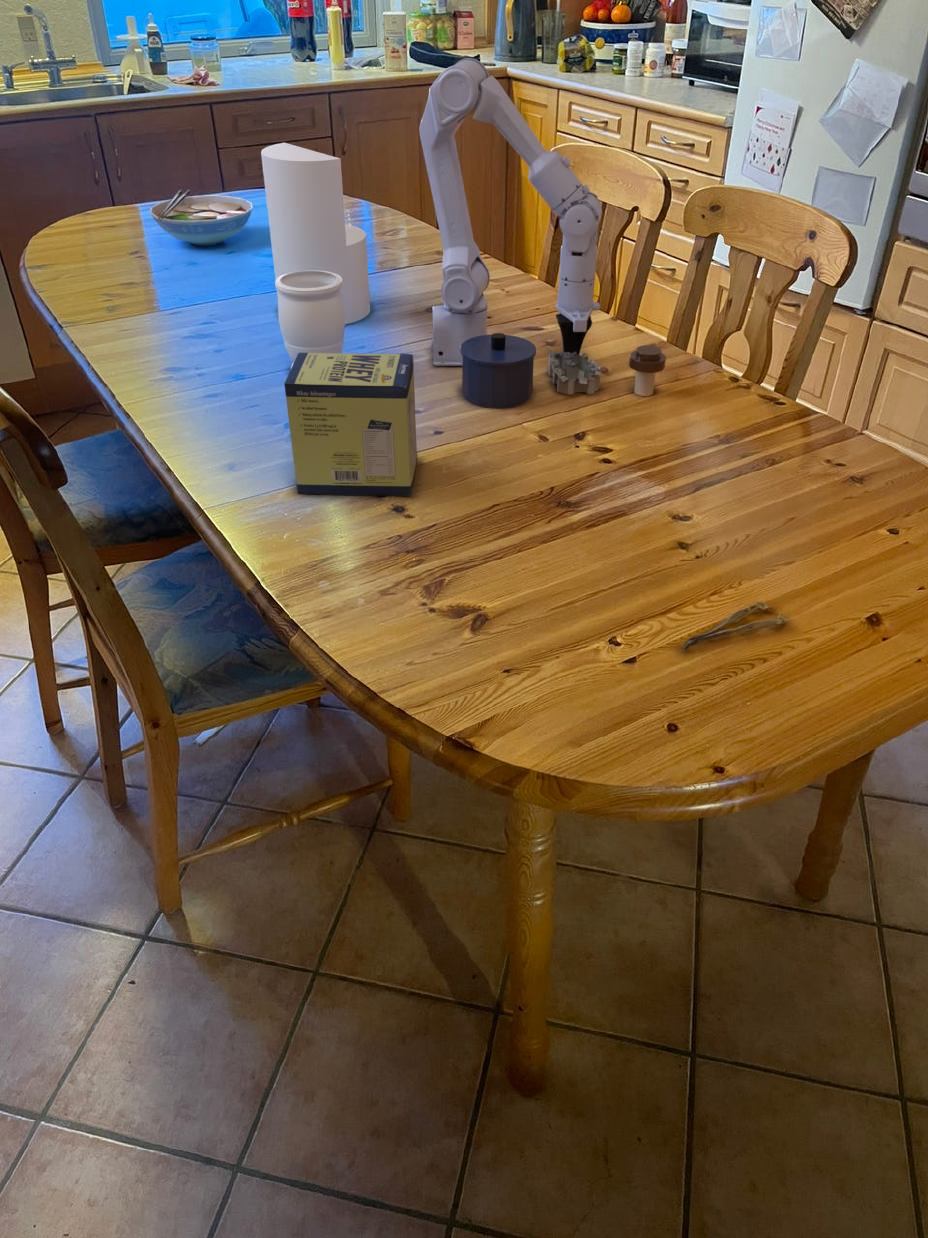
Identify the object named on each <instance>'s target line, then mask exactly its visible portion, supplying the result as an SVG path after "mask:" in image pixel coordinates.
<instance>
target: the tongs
mask: <svg viewBox="0 0 928 1238" xmlns="http://www.w3.org/2000/svg"><path fill="white" fill-rule="evenodd" d="M770 610H773V606H769V605H767V603H765V602H763V601H756V602H755V603H753V604H752V605H749V606H746V607H743V608H741V609H739V610H736V611H734V612H732V613H731V614H729V615H728V616H726V617H725V618H723V620H721V621H720V622H719V623H718V624H717V625H715V626H714V627H712V628H711V629H708V630H707V631H704V632H703V633H701V634H697V635H694V636H691V637H690V638H688V639H687V640H685V642H684V644H683V646H682V652H685V651H686V650H687V649H688V648H690V647H692V646H695V645H699V644H701V643H704V642H708V641H712V640H715V639H719V638H720V639H721V638H725V637H728V636H732V635H734V634H742V633H753V632H755V631H759V630H762V629H766V628H770V627H774V626H777V625H782V624H783V623H785V622H787V621H788V619H787V618H785V617H784V616H783V613H779V614H778V616H777V617H776V618H768V619H765V620H755V621H753V622H749V623H747V624H744V625H740V626H738V627H735V628H734V627H733V628H730V629H729V628H728V629H724V628H725V627H727V626H728V625H731V624H736V623H738V622H740V621H741V620H742V619H743V618H744V617H747V616H748V615H751V614H753V613H758V612H763V613H766V612H769V611H770ZM722 629H724V630H722Z"/></svg>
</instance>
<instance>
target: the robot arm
mask: <svg viewBox="0 0 928 1238" xmlns="http://www.w3.org/2000/svg"><path fill="white" fill-rule="evenodd" d="M472 110H473V111H474V113H473V115H472V117H471V119H472V120H474V121H478V122H483V123H488V124H491V125H493V126H494V127H495V128H496V129H497V131H498V132H499V133H500V134H501V135H502V136H503V137H504V139H505V140H506V141H507V142H508V144H509V145H510V146H511V147H512V148H513V150H514V151H515V152H516V153H517V154H518V155H519V156H520V158H521V159H522V160H523V161H524V163H525V164H526V165H527V167H528V181H529V183H530V184H531V186H533V188H534V189H535V190H536V192H537V193H538V194H539V196H540V197H541V198H542V199H543V201H544V202H545V203H546V205H547V206H548V207H549V209H550V210H551V211H552V212H553V214H555V215H557V216H558V217H559V218H560V219H559V227H560V230H561V233H562V245H561V246H560V257H559V273H558V285H557V286H558V287H557V300H556V303H555V310H556V311H557V312H558V313H556V315H555V319H556V322H557V324H558V327H559V329H560V334H561V343H562V350H563V351H562V352H570V353H574V352H576V353H577V355H580V353H581V350H582V345H583V343H584V340H585V337H587V333H589V330H591V327H592V325H593V320H592V316H591V315H592V313H593V312H594V311H600V309H601V305H600V303H599V302H598V301H594V296H595V295H594V294H595V284H596V283H595V281H596V271H597V260H598V245H597V244H598V241H599V235H598V232H599V231H598V230H599V226H600V222H601V219H602V215H603V214H602V213H603V210H602V203H601V202H600V199H599V196H598V195H597V194H596V193H594V192H593V191H591V189H590V187H589V186H588V184H585V185H584V184H582V182H581V181H580V179H579V178H578V177H577V175H576V174H575V172H574V171H573V170H572V168H571V167H570V165H571V163H572V162H571V160H570V159H569V157H568V155H565V156H563V157H562V155H561V154H560V153H559V152H558V151H553V150H552V151H551V150H547V149H545V148H544V146H543V144H542V143H541V142H540V140H539V138H538V137H537V136H536V134H535V133H534V132H533V130H532V128H531V127H530V125H529V124H528V122H527V121H526V120H525V118H524V116H522V114H521V112H520V111H519V109H518V108H517V107H516V105H515V104H514V102H513V101H512V99H511V98H510V96H509V95H508V94H507V92H506V91H505V90H504V88H503V87H502V85H501V84H500V82H499V80H497V79H496V78H495V77H494V75H490V74H489V71H488V69H487V67H486V66H485V65H484V64H483V63H482V62H481V61H479V59H476V58H472V57H465V58H462V59H460V60H458V61H457V62H455V64H453V65H451V66H448V67H447V68H444V70H442V72H440V74H439V75H438V77H437V78H436V79H435V80H434V82H433V83H432V84H431V86H430V87H429V90H428V97H427V101H426V104H425V108H424V111H423V115H422V118H421V121H420V124H419V130H418V131H419V137H420V138H419V139H420V143H421V147H422V152H423V157H424V161H425V167H426V172H427V177H428V183H429V186H430V191H431V192H430V193H431V197H432V201H433V206H434V211H435V216H436V220H437V226H438V230H439V234H440V235H439V236H440V239H441V240H440V241H441V245H442V249H443V252H442V262H441V263H442V264H441V270H442V276H443V280H442V283H441V289H440V291H441V294H440V295H441V298H442V301H443V304H440V305H434V306H432V339H431V340H430V348H431V349H430V350H431V351H432V352H433V354H432V355H433V356H432V357H433V360H432V361H433V366H434V367H462V355H461V353H460V346H461V344H462V343H463V342H465V341H466V340H468V339H470V338H473V337H477V336H482V335H488V301H487V299H486V297H485V294H484V292H485V291H486V289H487V288H488V286H489V285H490V281H491V275H490V270H489V268H488V266H487V264H486V263H485V262H484V260H483V259H482V256H481V251H480V248H479V246H478V244H477V243H476V241H475V239H474V233H473V228H472V222H471V217H470V213H469V207H468V202H467V196H466V191H465V186H464V180H463V175H462V170H461V164H460V159H459V154H458V149H457V142H456V138H455V136H456V134H457V131H458V130H459V129H460V128H461V126H462V124H463V122H464V120H465V119H466V117H467V115H468V114H469V113H470V112H471V111H472Z"/></svg>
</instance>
